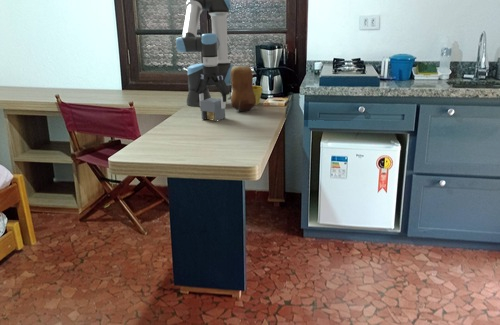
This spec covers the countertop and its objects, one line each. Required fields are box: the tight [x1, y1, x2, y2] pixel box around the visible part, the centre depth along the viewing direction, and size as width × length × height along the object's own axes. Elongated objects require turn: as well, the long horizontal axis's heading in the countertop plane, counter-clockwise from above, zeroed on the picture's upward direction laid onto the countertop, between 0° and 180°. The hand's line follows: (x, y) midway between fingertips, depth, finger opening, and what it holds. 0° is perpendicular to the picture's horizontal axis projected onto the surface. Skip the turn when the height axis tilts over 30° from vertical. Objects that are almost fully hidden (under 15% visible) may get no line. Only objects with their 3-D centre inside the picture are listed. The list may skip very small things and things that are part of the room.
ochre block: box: [206, 112, 215, 121], centre depth 252 cm, size 4×4×4 cm
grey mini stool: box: [199, 97, 226, 122], centre depth 251 cm, size 9×9×10 cm
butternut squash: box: [230, 64, 256, 112], centre depth 265 cm, size 14×13×25 cm
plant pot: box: [252, 85, 263, 106], centre depth 284 cm, size 10×10×10 cm
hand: (212, 107), depth 250 cm, fingers open, 13 cm apart
